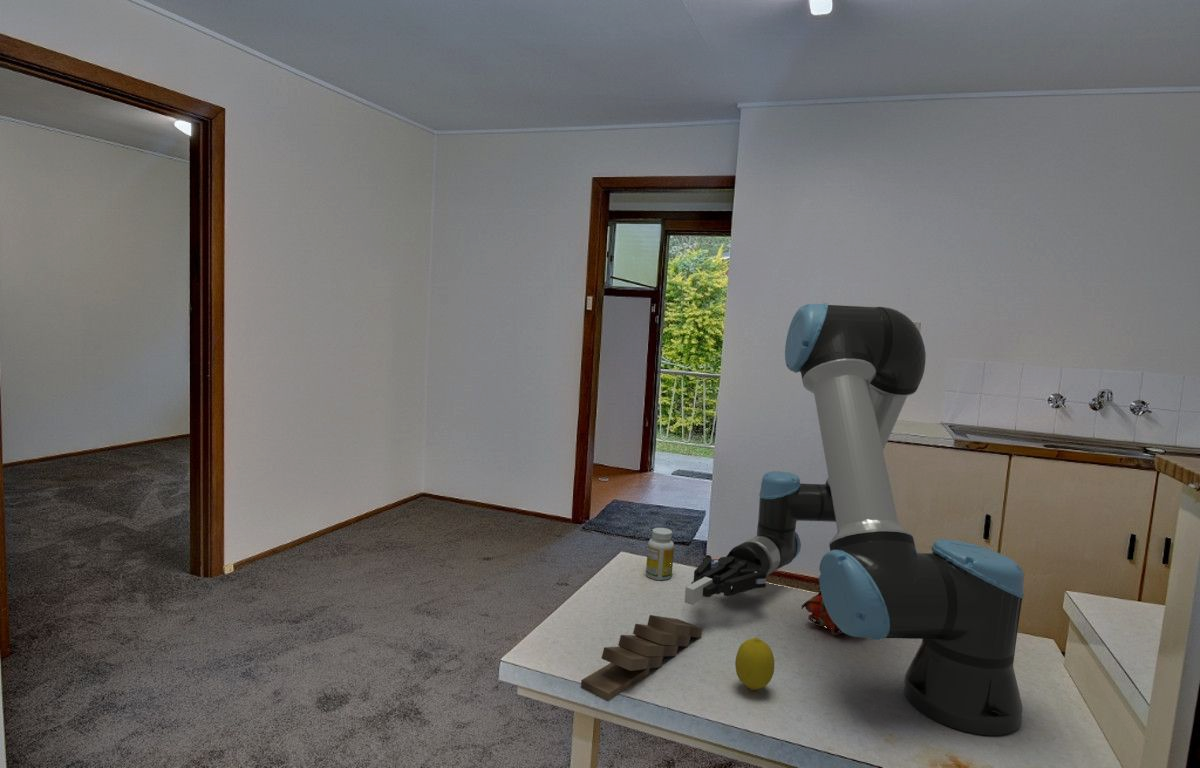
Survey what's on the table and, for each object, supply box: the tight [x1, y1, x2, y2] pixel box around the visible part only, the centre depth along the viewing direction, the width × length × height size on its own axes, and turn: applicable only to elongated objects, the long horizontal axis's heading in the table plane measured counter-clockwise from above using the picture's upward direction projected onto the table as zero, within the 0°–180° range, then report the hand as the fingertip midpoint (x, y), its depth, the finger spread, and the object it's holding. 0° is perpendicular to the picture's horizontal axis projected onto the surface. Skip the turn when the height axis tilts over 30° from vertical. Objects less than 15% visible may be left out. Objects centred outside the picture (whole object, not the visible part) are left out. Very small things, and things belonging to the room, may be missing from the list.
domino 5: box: [646, 614, 704, 639], centre depth 114 cm, size 5×2×10 cm
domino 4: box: [632, 623, 691, 648], centre depth 111 cm, size 5×2×10 cm
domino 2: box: [580, 662, 651, 702], centre depth 102 cm, size 5×2×10 cm
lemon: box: [735, 636, 775, 692], centre depth 101 cm, size 6×6×8 cm
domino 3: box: [617, 634, 679, 657], centre depth 108 cm, size 5×2×10 cm
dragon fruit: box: [801, 590, 848, 636], centre depth 122 cm, size 8×8×12 cm
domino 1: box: [601, 646, 664, 671], centre depth 104 cm, size 5×2×10 cm
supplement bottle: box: [645, 527, 675, 581], centre depth 142 cm, size 5×5×10 cm
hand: (688, 596), depth 116 cm, fingers closed
